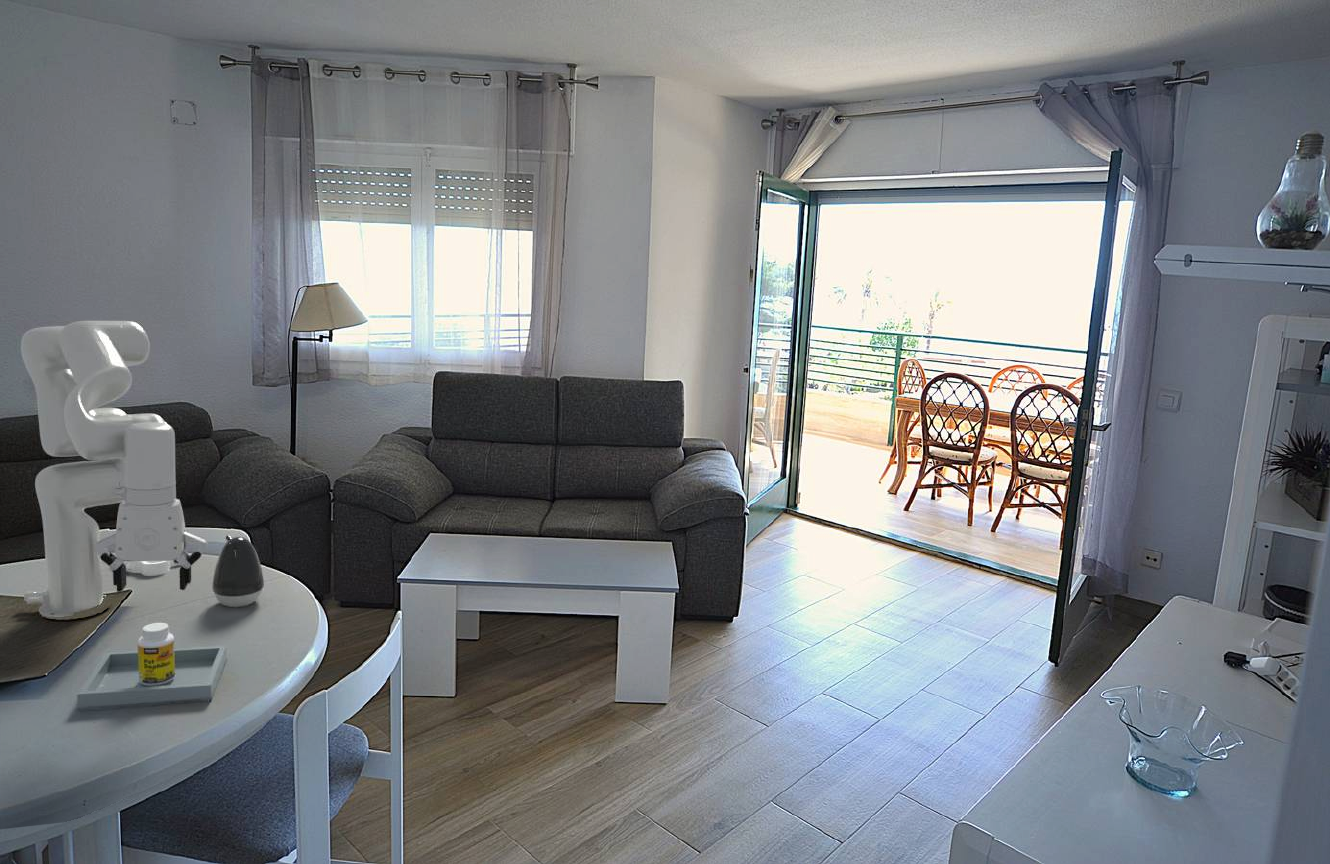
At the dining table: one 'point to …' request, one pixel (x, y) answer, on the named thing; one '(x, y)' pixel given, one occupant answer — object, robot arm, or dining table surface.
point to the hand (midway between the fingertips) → (153, 587)
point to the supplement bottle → (156, 655)
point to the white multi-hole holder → (149, 567)
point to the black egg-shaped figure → (237, 573)
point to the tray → (122, 688)
